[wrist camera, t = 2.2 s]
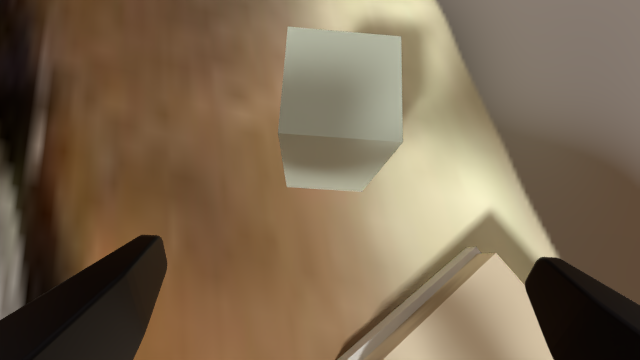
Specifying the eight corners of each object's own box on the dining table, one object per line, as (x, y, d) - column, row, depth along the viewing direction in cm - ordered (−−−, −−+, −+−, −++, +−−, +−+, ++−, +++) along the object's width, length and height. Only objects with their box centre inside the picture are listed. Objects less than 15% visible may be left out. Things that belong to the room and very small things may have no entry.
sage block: (361, 191, 22) (402, 142, 13) (286, 186, 22) (278, 133, 13) (363, 122, 23) (401, 36, 14) (292, 117, 23) (288, 26, 14)
